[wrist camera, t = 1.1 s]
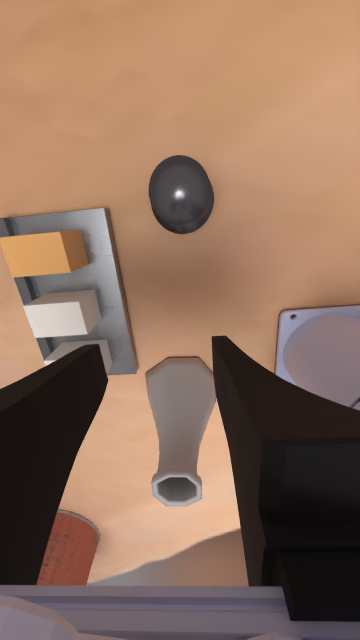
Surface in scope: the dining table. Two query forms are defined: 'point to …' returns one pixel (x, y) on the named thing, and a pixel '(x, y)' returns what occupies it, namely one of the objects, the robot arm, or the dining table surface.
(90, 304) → the toggle mid
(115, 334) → the panel
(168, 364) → the flask
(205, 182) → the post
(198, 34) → the dining table surface
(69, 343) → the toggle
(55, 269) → the toggle orange
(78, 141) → the dining table surface
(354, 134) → the dining table surface
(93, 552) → the canned food
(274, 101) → the dining table surface
